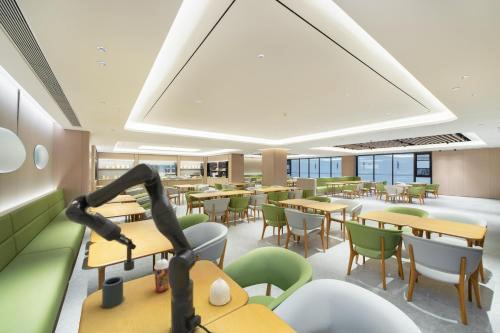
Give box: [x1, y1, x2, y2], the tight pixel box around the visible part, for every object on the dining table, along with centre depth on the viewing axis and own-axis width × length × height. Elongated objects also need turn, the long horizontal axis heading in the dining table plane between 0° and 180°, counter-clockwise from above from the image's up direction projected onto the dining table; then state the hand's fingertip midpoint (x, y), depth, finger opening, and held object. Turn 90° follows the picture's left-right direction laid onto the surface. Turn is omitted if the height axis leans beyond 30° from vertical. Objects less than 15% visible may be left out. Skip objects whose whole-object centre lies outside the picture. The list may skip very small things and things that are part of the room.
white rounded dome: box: [209, 276, 231, 306], centre depth 113 cm, size 11×11×12 cm
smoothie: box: [153, 254, 170, 293], centre depth 121 cm, size 8×8×20 cm
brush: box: [123, 238, 135, 272], centre depth 109 cm, size 5×5×15 cm
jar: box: [101, 276, 124, 309], centre depth 110 cm, size 9×9×11 cm
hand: (133, 247), depth 111 cm, fingers closed on brush
